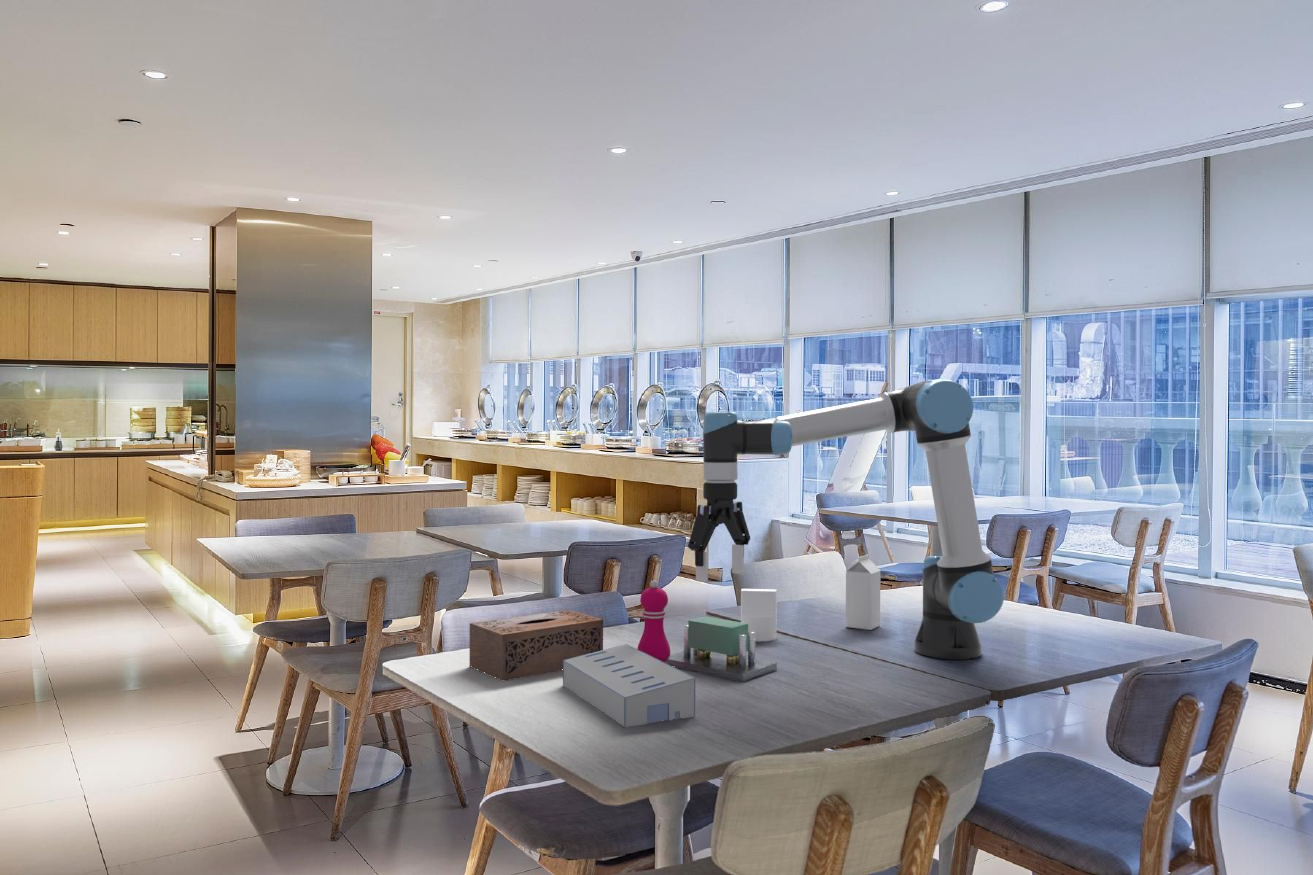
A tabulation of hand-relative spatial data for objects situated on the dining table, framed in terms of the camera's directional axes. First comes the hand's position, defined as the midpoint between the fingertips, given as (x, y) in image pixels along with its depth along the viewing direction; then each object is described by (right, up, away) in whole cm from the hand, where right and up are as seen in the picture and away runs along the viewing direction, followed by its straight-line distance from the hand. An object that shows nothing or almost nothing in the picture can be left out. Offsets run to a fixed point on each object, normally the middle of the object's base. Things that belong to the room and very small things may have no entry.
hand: (720, 577), depth 214 cm
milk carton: (+41, -20, +44) cm, 63 cm away
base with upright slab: (+12, -20, +31) cm, 38 cm away
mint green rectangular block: (-1, -16, 0) cm, 16 cm away
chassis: (0, -20, 0) cm, 20 cm away
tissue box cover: (-41, -20, +1) cm, 45 cm away
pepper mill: (-15, -20, -5) cm, 25 cm away
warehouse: (-20, -21, -26) cm, 39 cm away
